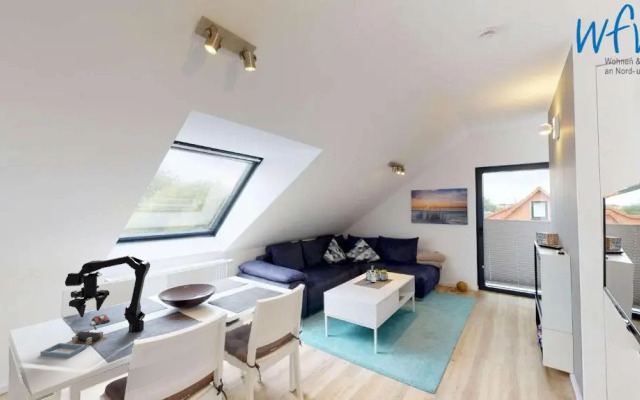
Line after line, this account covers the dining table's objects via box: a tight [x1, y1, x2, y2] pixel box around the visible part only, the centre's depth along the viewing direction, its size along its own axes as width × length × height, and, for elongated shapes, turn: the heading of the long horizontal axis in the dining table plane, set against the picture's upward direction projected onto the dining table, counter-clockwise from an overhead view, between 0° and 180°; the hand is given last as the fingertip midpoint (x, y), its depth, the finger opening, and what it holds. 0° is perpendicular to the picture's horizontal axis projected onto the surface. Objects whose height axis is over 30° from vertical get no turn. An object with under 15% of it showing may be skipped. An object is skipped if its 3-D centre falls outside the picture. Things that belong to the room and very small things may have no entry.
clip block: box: [66, 330, 108, 346], centre depth 147 cm, size 16×8×4 cm, turn 85°
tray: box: [40, 342, 87, 359], centre depth 135 cm, size 15×9×3 cm, turn 85°
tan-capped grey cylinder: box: [74, 330, 100, 341], centre depth 147 cm, size 11×4×4 cm, turn 85°
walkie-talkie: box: [90, 314, 111, 331], centre depth 168 cm, size 9×4×20 cm
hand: (90, 313), depth 154 cm, fingers open, 9 cm apart
